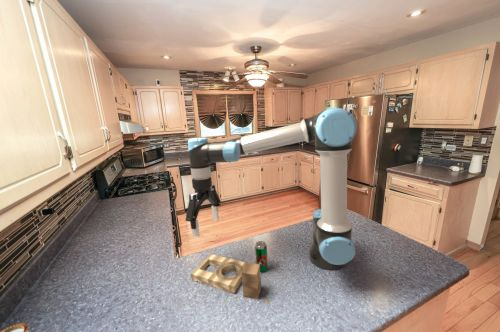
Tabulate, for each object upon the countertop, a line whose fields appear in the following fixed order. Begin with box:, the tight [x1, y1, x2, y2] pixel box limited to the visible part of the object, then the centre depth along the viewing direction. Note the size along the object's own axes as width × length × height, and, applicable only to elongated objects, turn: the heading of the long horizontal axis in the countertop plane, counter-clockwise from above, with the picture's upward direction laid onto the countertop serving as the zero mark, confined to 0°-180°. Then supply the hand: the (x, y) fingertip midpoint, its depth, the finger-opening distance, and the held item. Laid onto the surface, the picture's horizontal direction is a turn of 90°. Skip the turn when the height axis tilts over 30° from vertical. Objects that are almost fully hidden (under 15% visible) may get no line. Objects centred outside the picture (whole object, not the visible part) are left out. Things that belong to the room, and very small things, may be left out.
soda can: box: [254, 240, 269, 273], centre depth 87 cm, size 5×5×12 cm
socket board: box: [190, 253, 247, 294], centre depth 86 cm, size 20×14×3 cm
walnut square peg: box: [241, 262, 262, 300], centre depth 76 cm, size 6×6×10 cm
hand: (206, 227), depth 85 cm, fingers open, 13 cm apart
